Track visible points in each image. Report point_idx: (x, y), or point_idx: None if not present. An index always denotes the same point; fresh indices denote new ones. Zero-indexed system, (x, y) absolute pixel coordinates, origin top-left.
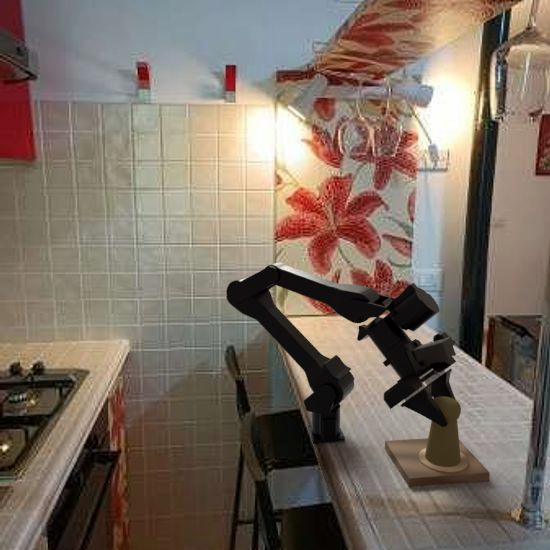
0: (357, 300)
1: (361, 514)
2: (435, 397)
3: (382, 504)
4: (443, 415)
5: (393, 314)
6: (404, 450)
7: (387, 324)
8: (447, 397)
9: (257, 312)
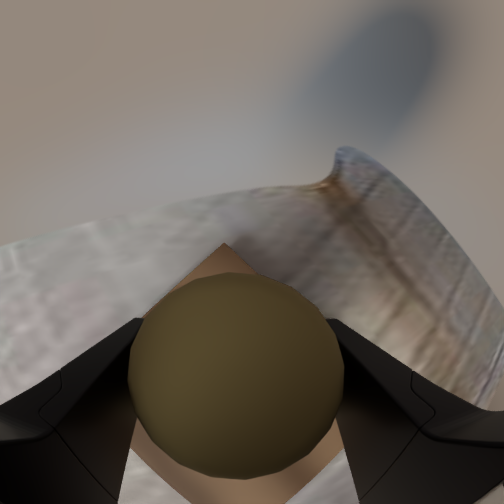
0: None
1: (488, 392)
2: (118, 478)
3: (454, 389)
4: (345, 340)
5: None
6: (257, 480)
7: None
8: (181, 382)
9: None
